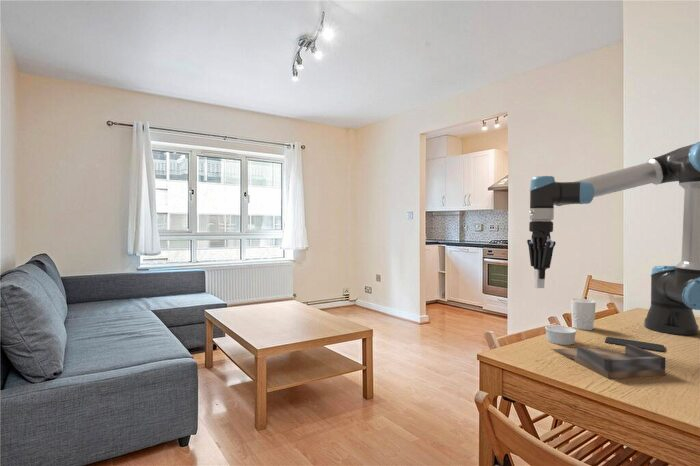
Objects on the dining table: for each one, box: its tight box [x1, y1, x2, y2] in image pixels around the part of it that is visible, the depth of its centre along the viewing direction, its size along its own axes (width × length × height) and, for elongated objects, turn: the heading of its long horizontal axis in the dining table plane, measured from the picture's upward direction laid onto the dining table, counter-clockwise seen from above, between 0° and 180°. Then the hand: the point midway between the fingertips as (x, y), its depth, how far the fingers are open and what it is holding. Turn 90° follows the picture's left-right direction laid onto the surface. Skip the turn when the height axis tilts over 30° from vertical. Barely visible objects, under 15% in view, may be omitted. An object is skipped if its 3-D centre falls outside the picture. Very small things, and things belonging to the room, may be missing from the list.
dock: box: [550, 344, 667, 379], centre depth 109 cm, size 16×22×6 cm
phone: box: [604, 336, 665, 353], centre depth 123 cm, size 7×1×15 cm
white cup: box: [570, 298, 597, 331], centre depth 142 cm, size 8×8×10 cm
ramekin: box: [544, 324, 577, 346], centre depth 126 cm, size 9×9×4 cm
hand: (539, 287), depth 137 cm, fingers closed
